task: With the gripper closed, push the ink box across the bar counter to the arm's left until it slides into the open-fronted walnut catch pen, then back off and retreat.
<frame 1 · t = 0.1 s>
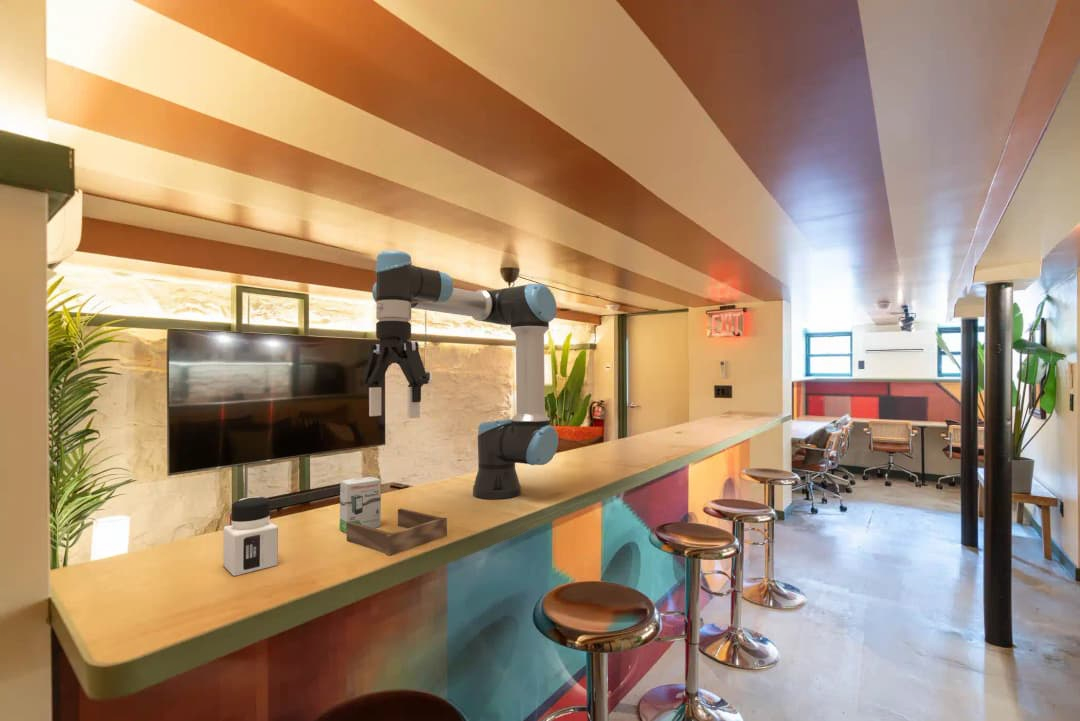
hand: (393, 417, 109), 28 cm above the table, fingers open, 13 cm apart
container: (250, 566, 96), on the table
catch pen: (396, 538, 112), on the table
ink box: (360, 529, 121), on the table
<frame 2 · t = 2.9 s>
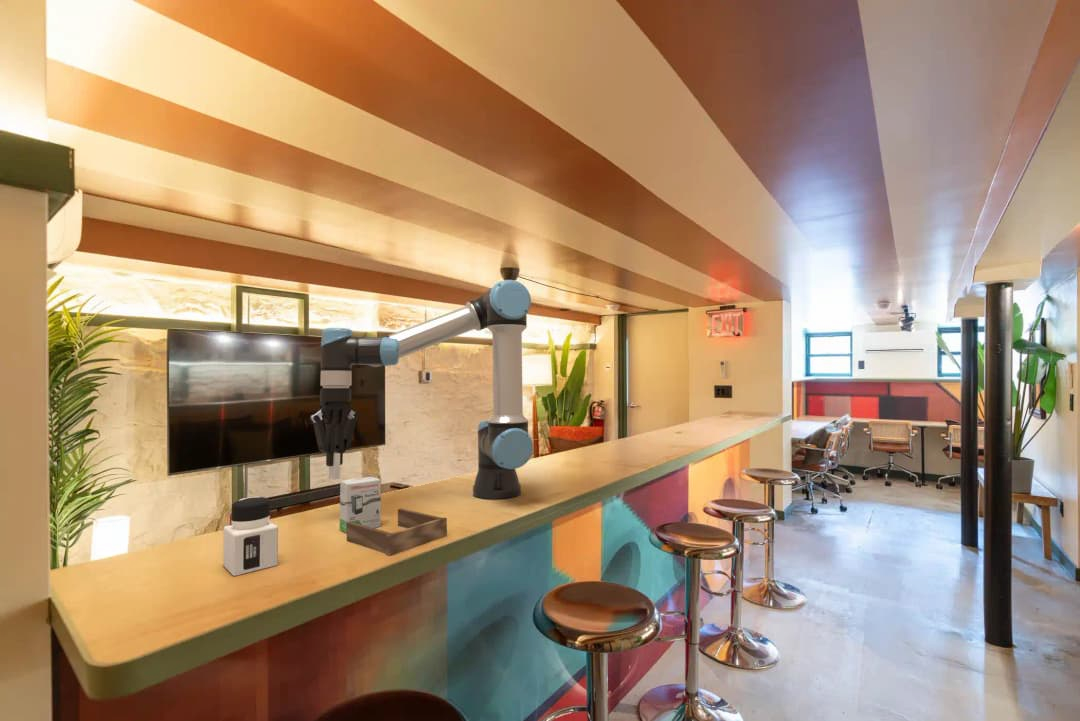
hand: (334, 478, 127), 11 cm above the table, fingers closed
nothing on the table moved.
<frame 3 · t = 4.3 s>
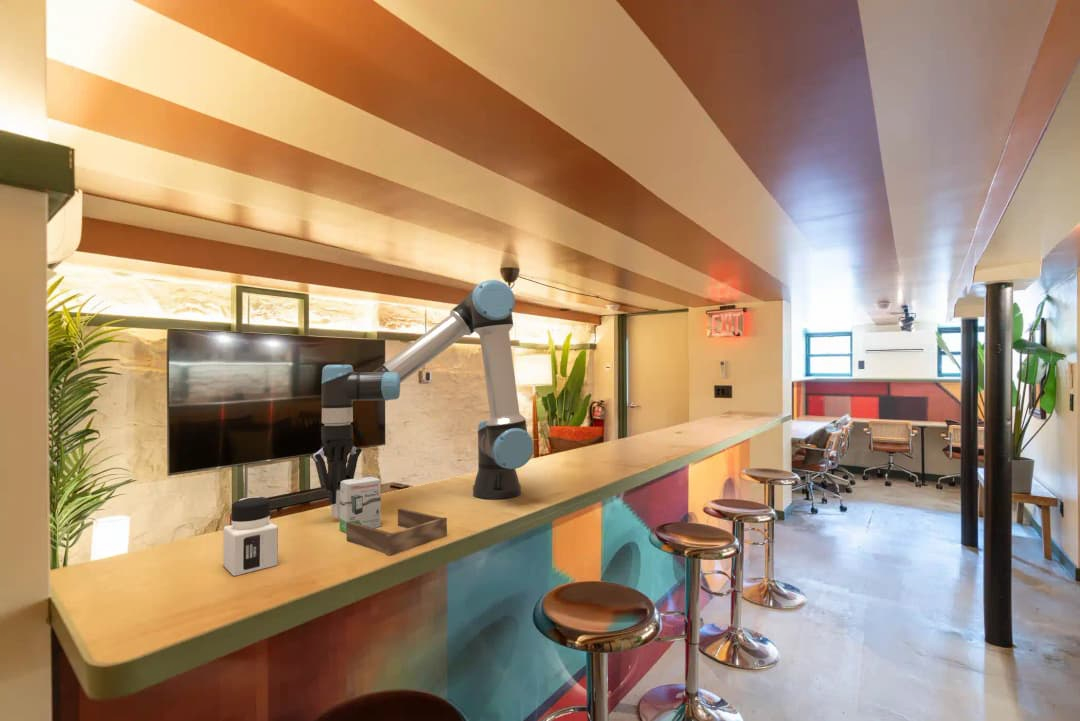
hand: (336, 515, 127), 1 cm above the table, fingers closed
nothing on the table moved.
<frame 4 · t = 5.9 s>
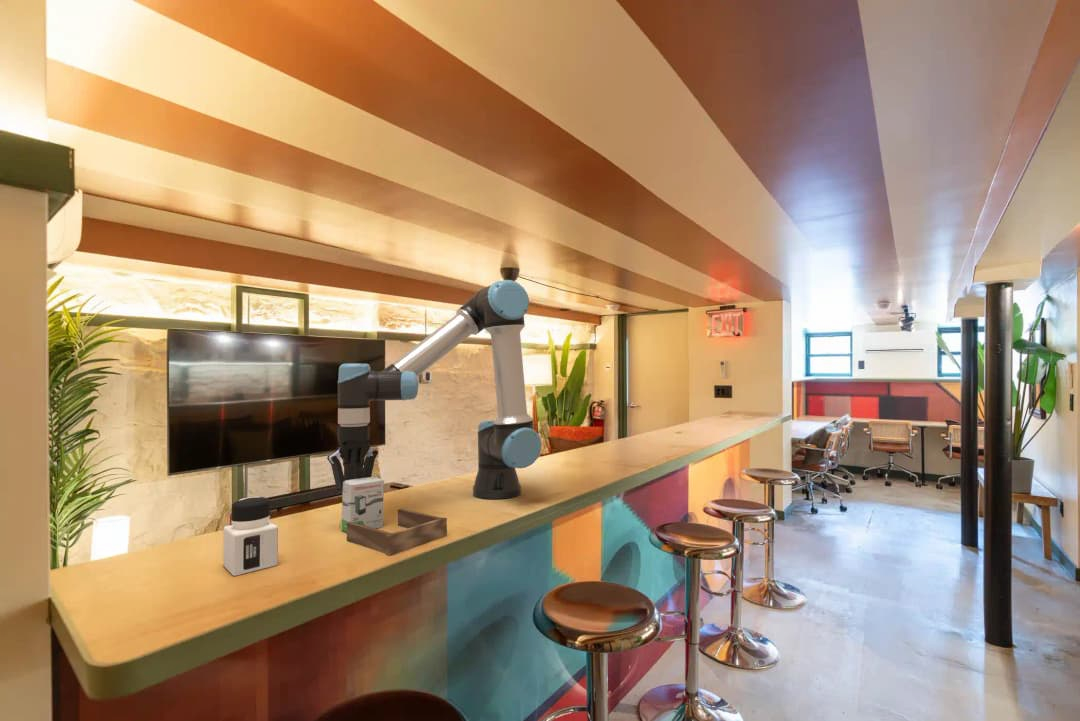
hand: (353, 519, 122), 1 cm above the table, fingers closed
ink box: (362, 529, 120), on the table, touching gripper, hand
everything else where it was.
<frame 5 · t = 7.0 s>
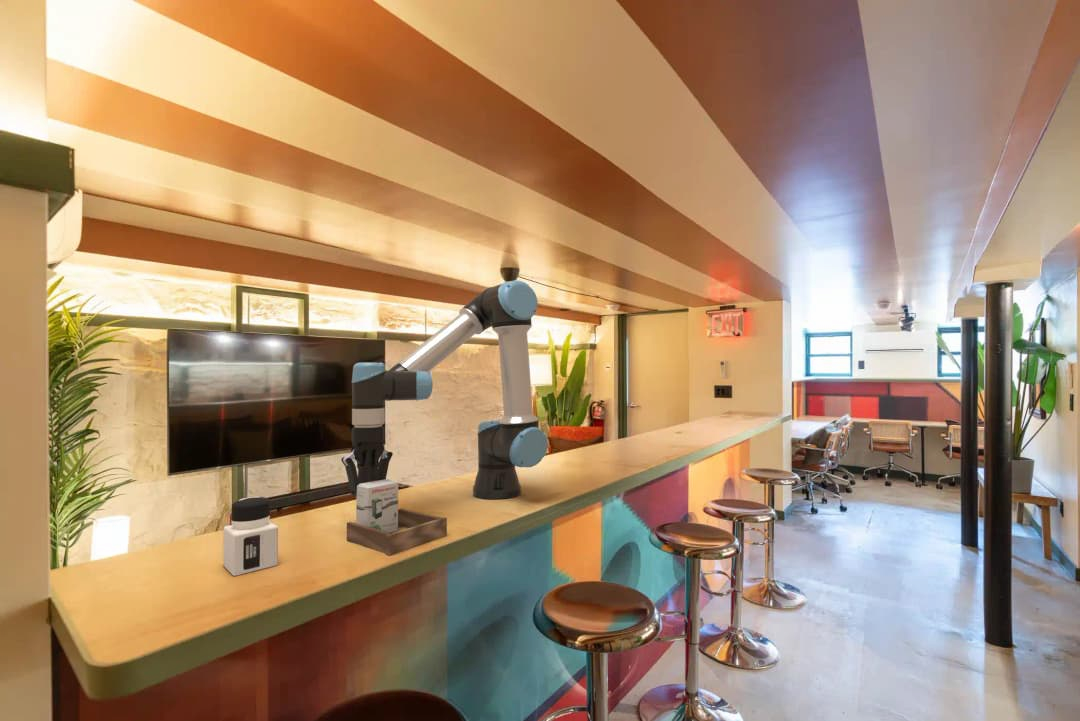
hand: (367, 523, 119), 2 cm above the table, fingers closed
ink box: (377, 533, 116), on the table, touching gripper
everything else where it was.
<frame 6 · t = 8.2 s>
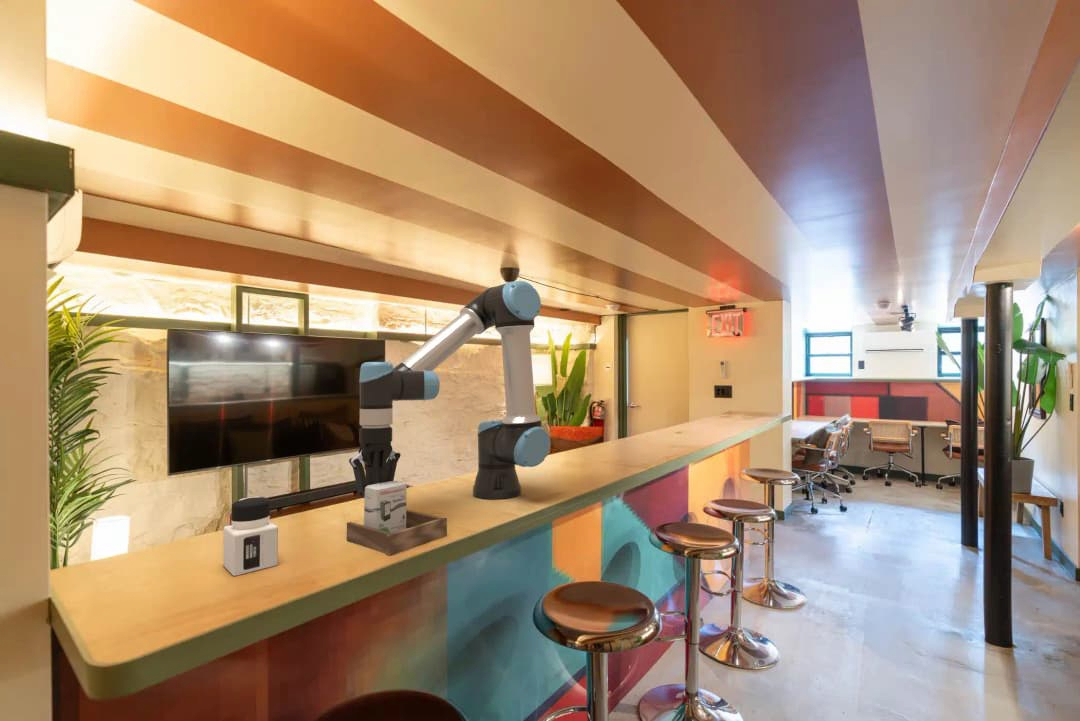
hand: (375, 525, 117), 2 cm above the table, fingers closed
ink box: (385, 536, 114), on the table, touching gripper
everything else where it was.
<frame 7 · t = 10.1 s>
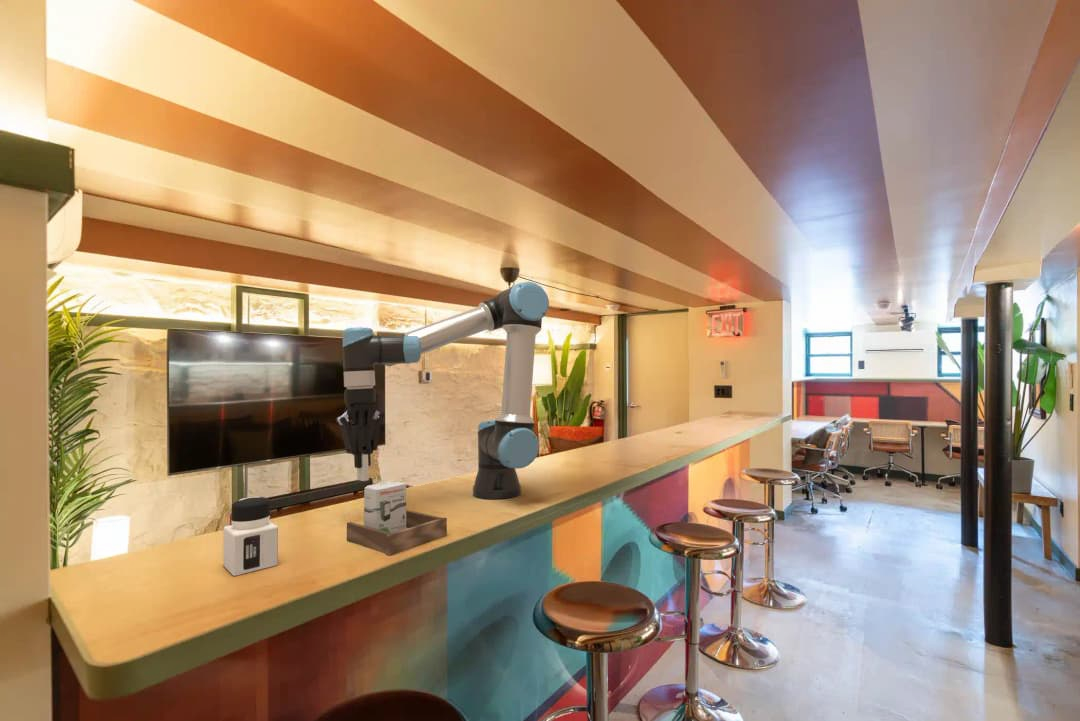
hand: (363, 479, 126), 11 cm above the table, fingers closed
ink box: (385, 536, 114), on the table
everything else where it was.
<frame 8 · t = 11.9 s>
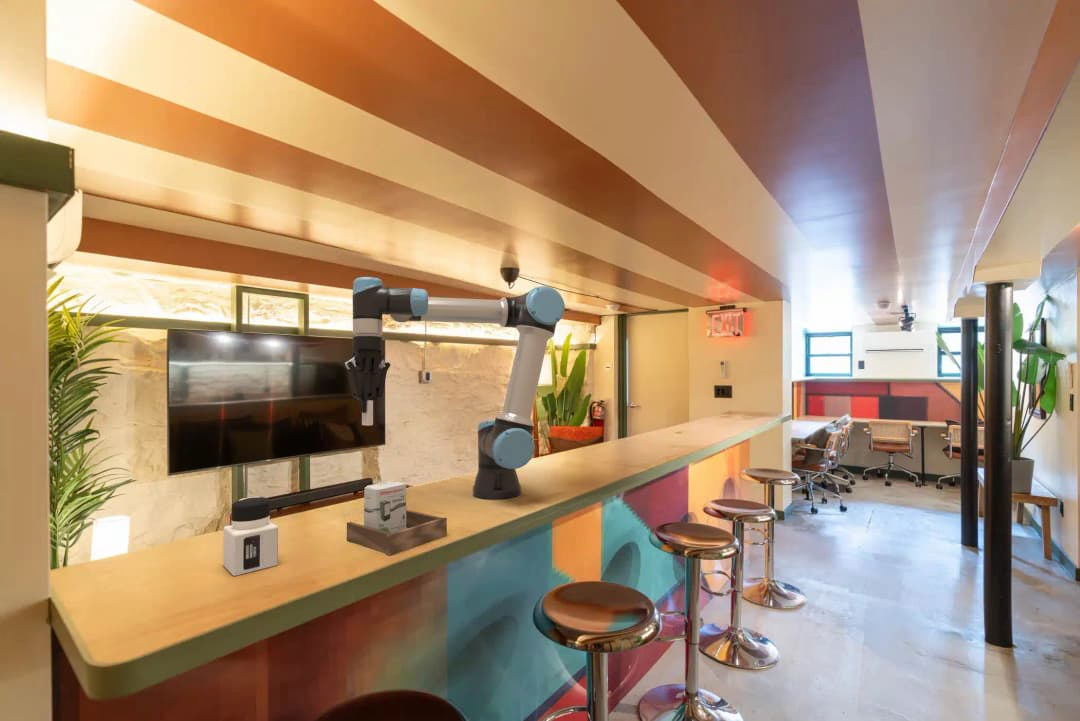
hand: (367, 425, 130), 24 cm above the table, fingers closed
nothing on the table moved.
at the end: ink box inside the target area (3.9 cm from its centre), on the table; ink box moved 10.1 cm from its start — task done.
